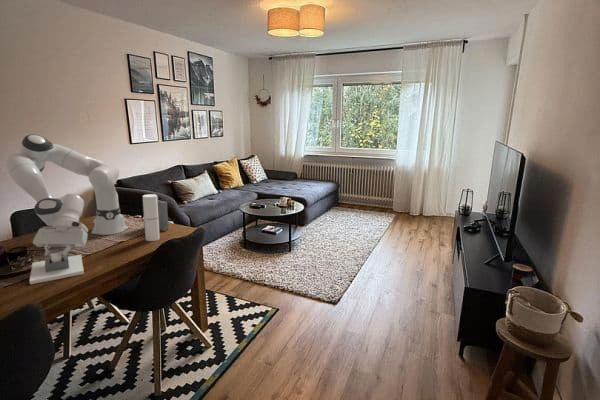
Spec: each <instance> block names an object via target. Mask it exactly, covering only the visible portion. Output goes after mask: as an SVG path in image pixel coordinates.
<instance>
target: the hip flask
mask: <svg viewBox="0 0 600 400" xmlns="http://www.w3.org/2000/svg"><path fill="white" fill-rule="evenodd" d="M157 203H158V219H159V231H161V232H167V231H169V218H168V216H169V215H168V214H169V213H168V201H163V200H159V197H158V196H157ZM142 211H143V213H142V214H143V215H144V208H143V207H142ZM143 225H144V229H145V222H144V221H143Z"/></svg>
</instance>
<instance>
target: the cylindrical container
mask: <svg viewBox="0 0 600 400" xmlns="http://www.w3.org/2000/svg"><path fill="white" fill-rule="evenodd" d="M157 197H158V195H157V194H154V193H153V194H152V193H151V194H150V193H149V194H144V195H142V209H143V208H144V214H143V223H144V222H145V228H144V233H145V234H144V235H145V241H147V242H156V241H158V240H160V230H159V219H158V203H157Z"/></svg>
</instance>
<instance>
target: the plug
mask: <svg viewBox="0 0 600 400" xmlns="http://www.w3.org/2000/svg"><path fill="white" fill-rule="evenodd" d="M49 251H50V254H51V255H50V258H51V261H52V263H56V262H62V259H61V255H60V253H61V247H54V248H50V249H49Z"/></svg>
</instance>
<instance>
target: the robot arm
mask: <svg viewBox="0 0 600 400" xmlns="http://www.w3.org/2000/svg"><path fill="white" fill-rule="evenodd" d="M4 161H5V166H6V169H7V172H8V174H9V176H10V178H11V179H12V181H13V182H14V183H15V184H16V185H17V186H18V187H19V188H20V189H21V190H23V191H24V192H25V193H26V194H28V195H29V196H30V197H31V198H32V199H34V200H35V202H36V204H35V205H34V207H33V210H34V213H35V214H36V215H37V216H38V217H39V218H40V219H41V220H42V222H43V223H45V225H46V226H43V227H40V228H39V229H38V231H37V233H36V234H35V235H34V238H33V240H32V244H33V245H34V246H35V247H37V248H42V247H43V248H44V251H45V252H44V256H46V257H51V254H50V250H51V249H52V247H54V248H61V247H62V248H64V250H60V252H61V253H60V255H61V256H66V255H68V252H69V251H71V250H72V248H73V247H78V248H81V247H85V245H86V244H87V242H88V232H89V229H88V227H86V225H85V224H83V223H82V222H80V218H81V216H82V215H83V211H84V208H85V200H84V199H83V198H82V197H81V196H80V195H78V194H75V193H67V194H65V195H62V196H60V197H58V196H57V197H53V196H52V195H51V193H50V191H49V189H48V186H47V184H46V181H45V179H44V176H43V174H42V172H43V171H44V169H45V165H46V164H47V162H49V163H50V162H51V163H53V164H54V165H56V166H58V167H61V168H62V169H65V170H67V171H70V172H72V173H74V174H77V175H82V176H85V177H88V181H89V183H90V184H91V186H92V189H93V191H94V196H95V202H96V209H95V210H96V211H95V213H96V217H95V218H94V219H93V222H92V223H93V225H94V226H93V228H92V230H91V235H100V236H105V235H106V236H108V235H116V234H120V233H123V231H125V230H129V227H128V226H127V225H126V224H125V217H124V215H123V214H121V207H120V203H119V194H118V192H117V189H116V186H115V181H117V180H118V179H119V176H120V170H119V168H118V167H117V166H116V165H115V164H111V163H108V162H106V161H102V160H99V159H96V158H93V157H90V156H87V155H85V154H83V153H81V152H78V151H77V150H74V149H72V148H69V147H67V146H63V145H61V144H58V143H52V142H51V141H49V140H48V139H47V138H45V137H43V136H42V135H40V134H35V133H34V134H27V135H25V136H24V137H23V138H22V141H21V145H20V149H19V153H18V152H17V153H12V154H10V155H8V156H7V157H6V158H5V160H4Z"/></svg>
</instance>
